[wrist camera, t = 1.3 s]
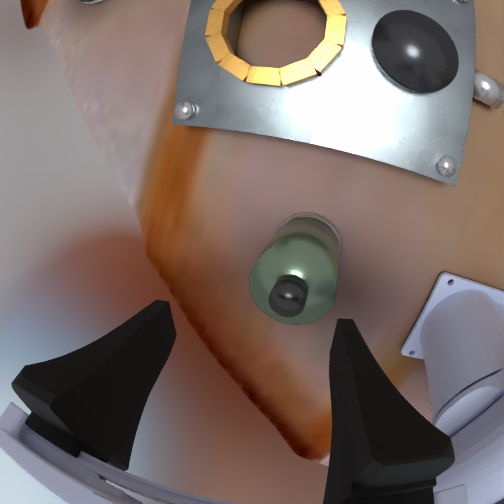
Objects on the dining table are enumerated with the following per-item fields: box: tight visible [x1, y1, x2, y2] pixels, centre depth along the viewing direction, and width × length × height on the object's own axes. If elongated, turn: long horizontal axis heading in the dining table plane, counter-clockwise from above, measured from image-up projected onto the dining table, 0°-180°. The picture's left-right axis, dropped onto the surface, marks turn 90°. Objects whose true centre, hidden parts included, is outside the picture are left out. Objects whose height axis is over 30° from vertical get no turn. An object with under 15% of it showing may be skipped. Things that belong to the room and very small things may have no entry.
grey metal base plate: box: [173, 0, 504, 187], centre depth 12 cm, size 20×14×3 cm
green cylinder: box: [249, 212, 341, 325], centre depth 17 cm, size 5×5×7 cm
